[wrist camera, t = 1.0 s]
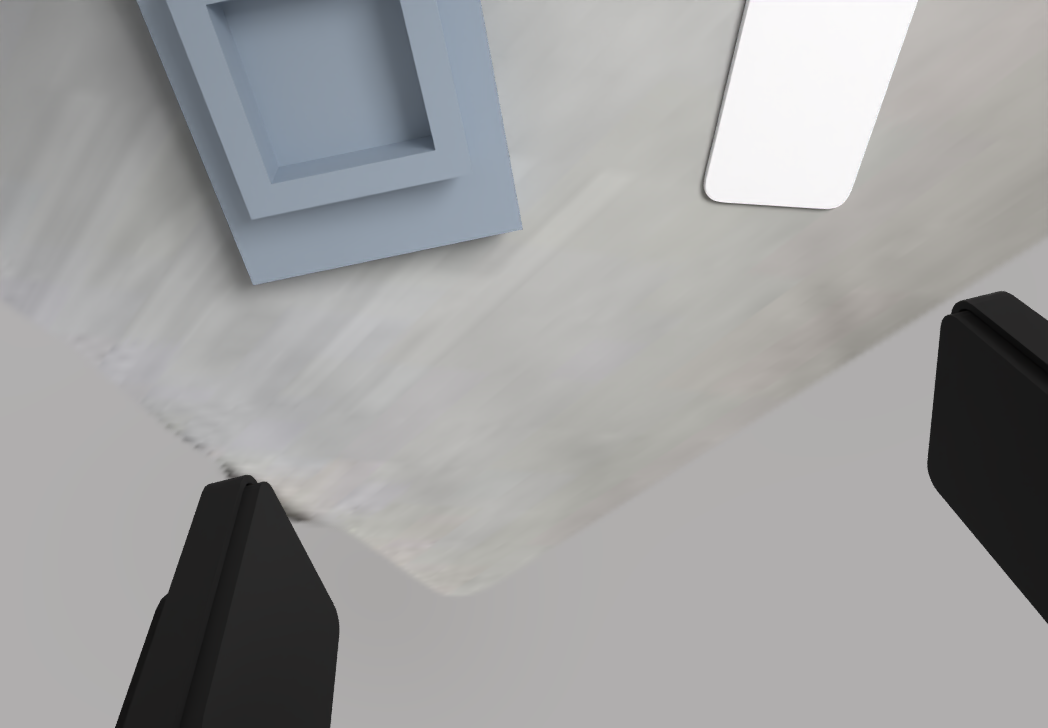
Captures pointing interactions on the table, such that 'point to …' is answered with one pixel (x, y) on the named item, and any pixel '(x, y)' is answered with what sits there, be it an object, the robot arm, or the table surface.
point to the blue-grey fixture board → (340, 125)
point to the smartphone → (803, 99)
